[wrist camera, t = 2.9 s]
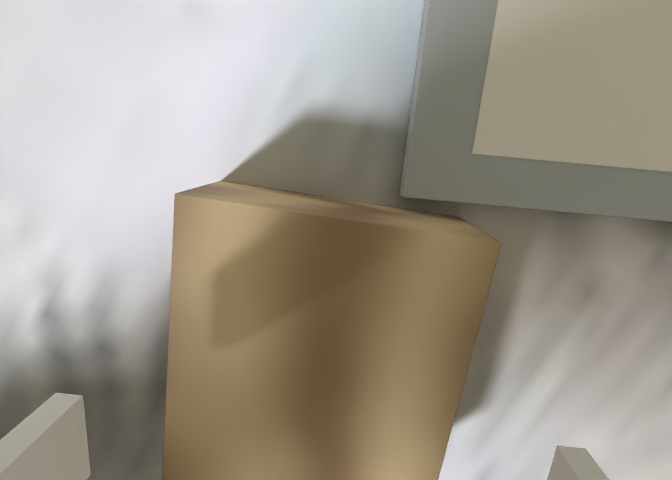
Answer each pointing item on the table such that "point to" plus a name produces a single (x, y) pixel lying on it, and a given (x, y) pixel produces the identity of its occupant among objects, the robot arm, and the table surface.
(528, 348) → the table surface
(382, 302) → the oak block
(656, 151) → the build board
